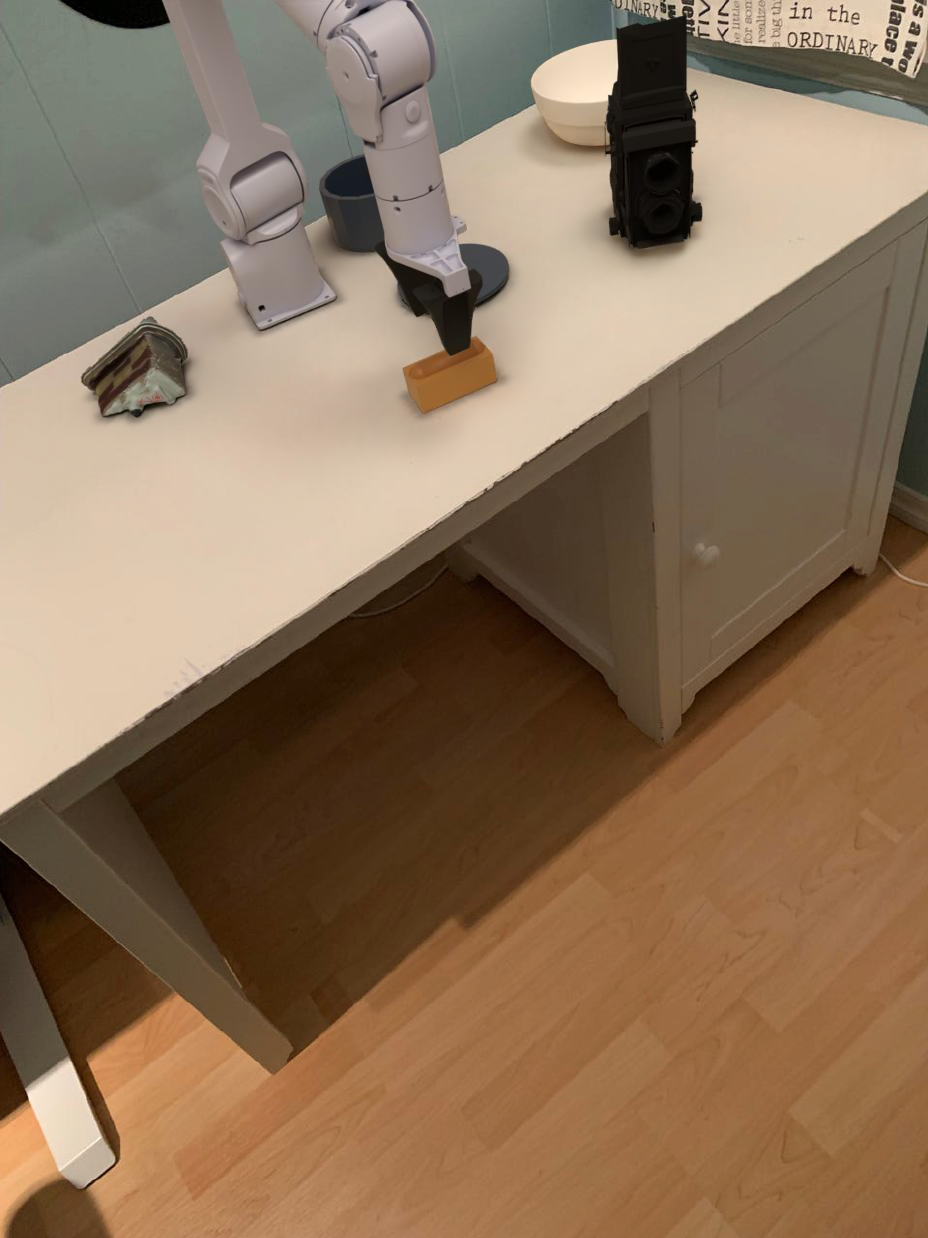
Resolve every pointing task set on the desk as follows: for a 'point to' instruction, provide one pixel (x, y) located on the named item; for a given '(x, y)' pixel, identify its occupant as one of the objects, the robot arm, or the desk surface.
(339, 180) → the pot
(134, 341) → the chocolate cake
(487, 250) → the lid
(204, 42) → the robot arm
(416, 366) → the orange open box
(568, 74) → the bowl
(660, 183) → the camera
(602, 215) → the desk surface
